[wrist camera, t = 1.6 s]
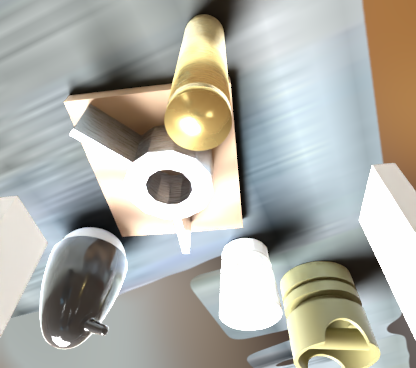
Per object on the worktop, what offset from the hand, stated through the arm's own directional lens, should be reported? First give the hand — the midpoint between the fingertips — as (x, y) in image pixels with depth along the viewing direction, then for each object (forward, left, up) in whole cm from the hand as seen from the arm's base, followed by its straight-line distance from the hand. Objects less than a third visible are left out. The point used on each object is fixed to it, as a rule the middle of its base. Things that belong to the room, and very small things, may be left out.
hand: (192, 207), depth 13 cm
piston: (+40, +13, -23) cm, 48 cm away
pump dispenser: (+26, -19, -23) cm, 39 cm away
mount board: (+14, -6, -22) cm, 27 cm away
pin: (0, 0, -22) cm, 22 cm away
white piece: (+13, -7, -21) cm, 26 cm away
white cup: (+31, +2, -23) cm, 38 cm away
